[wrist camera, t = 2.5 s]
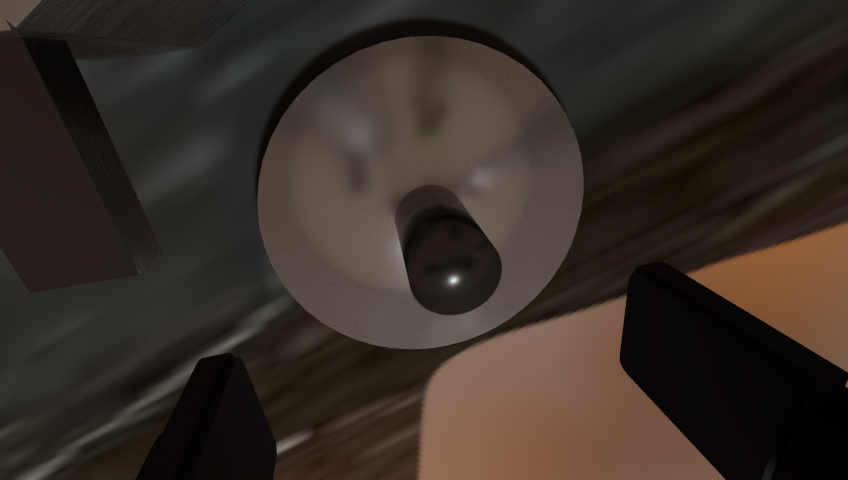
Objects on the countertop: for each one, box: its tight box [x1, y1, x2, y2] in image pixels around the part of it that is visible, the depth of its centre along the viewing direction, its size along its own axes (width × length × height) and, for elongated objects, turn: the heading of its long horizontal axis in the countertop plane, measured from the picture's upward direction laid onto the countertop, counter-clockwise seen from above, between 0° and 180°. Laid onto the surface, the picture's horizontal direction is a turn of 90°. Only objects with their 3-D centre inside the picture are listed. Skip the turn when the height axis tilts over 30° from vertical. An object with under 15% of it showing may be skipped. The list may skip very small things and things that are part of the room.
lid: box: [257, 36, 583, 349], centre depth 15 cm, size 14×14×6 cm
